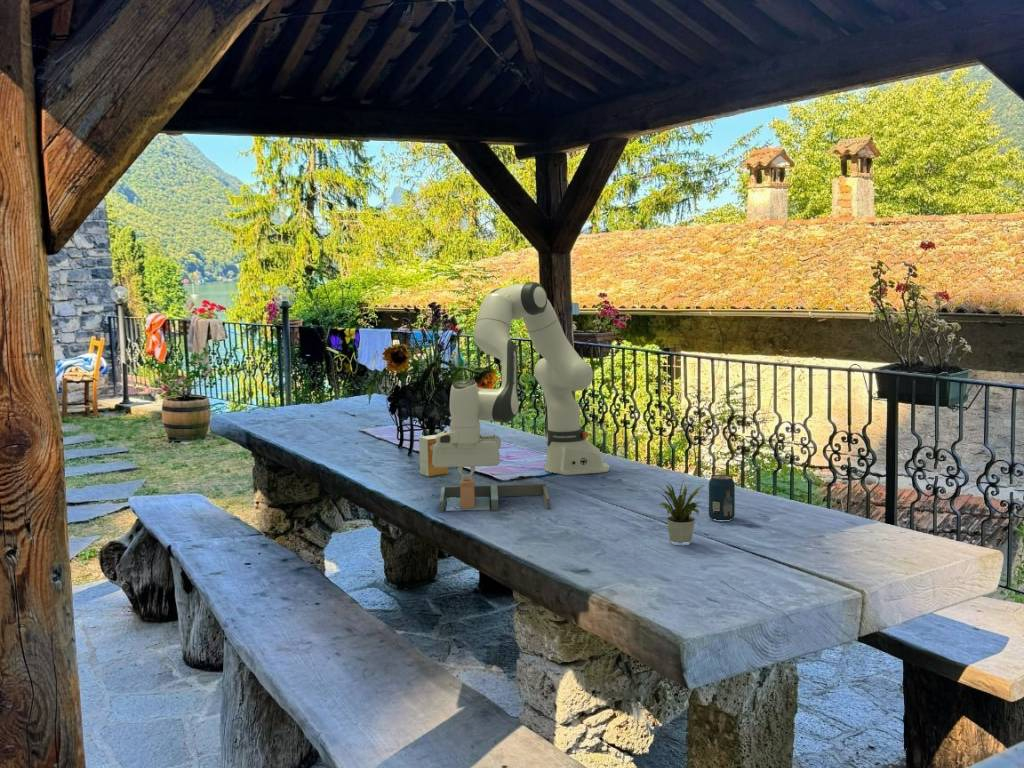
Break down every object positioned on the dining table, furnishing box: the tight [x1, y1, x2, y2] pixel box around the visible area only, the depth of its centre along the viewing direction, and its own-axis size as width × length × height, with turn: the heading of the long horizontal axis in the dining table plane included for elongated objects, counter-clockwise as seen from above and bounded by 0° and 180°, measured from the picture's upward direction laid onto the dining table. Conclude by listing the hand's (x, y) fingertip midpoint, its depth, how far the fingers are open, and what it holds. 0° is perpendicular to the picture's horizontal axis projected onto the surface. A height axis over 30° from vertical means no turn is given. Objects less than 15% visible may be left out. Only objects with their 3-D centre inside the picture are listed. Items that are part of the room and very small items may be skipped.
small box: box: [418, 434, 450, 477], centre depth 318 cm, size 8×6×13 cm
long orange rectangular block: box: [459, 478, 475, 509], centre depth 276 cm, size 4×12×6 cm, turn 2°
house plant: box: [649, 479, 705, 543], centre depth 233 cm, size 14×14×16 cm
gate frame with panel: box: [439, 483, 551, 512], centre depth 277 cm, size 32×17×4 cm, turn 92°
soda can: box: [708, 474, 736, 520], centre depth 253 cm, size 7×7×12 cm
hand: (466, 480), depth 276 cm, fingers closed
